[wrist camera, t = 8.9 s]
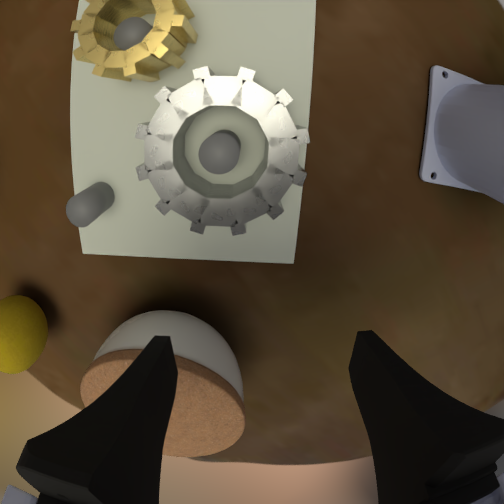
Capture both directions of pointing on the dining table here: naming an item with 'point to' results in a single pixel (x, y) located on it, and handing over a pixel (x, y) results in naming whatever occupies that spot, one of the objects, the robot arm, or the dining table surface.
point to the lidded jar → (180, 379)
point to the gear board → (189, 133)
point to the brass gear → (143, 54)
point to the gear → (197, 188)
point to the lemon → (21, 333)
